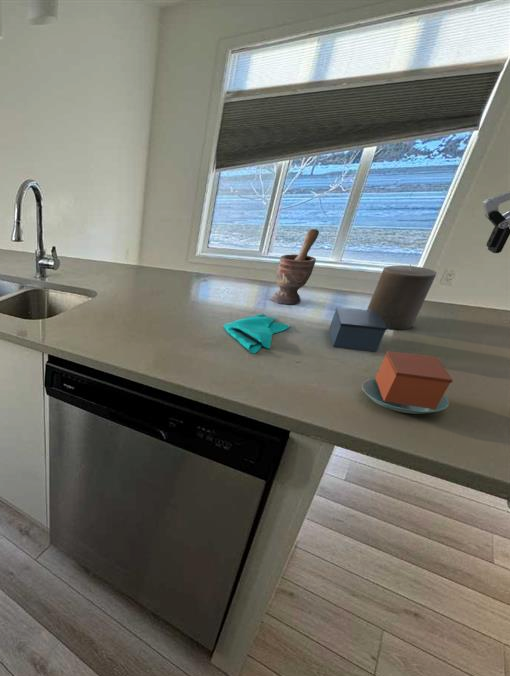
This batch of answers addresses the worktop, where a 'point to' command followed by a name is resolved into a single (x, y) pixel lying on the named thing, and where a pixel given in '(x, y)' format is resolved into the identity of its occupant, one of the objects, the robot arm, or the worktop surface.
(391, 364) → the container
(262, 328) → the cloth
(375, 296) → the pillar candle
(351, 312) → the bottom container
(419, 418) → the worktop surface
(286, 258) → the mortar and pestle
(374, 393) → the saucer
